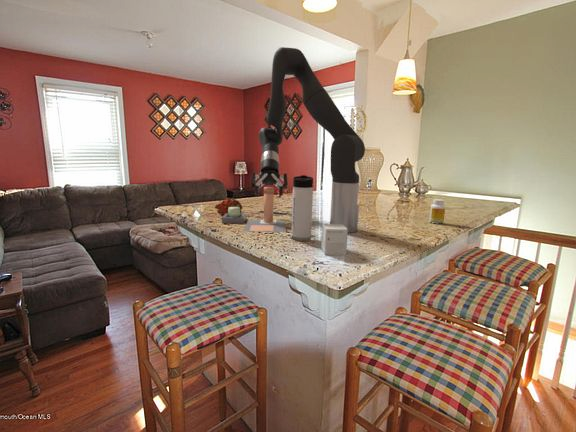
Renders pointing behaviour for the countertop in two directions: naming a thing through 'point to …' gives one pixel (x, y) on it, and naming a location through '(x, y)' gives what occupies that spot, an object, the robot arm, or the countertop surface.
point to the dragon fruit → (227, 205)
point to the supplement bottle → (437, 211)
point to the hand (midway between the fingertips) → (268, 195)
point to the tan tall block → (268, 204)
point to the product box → (334, 239)
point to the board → (264, 226)
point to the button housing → (233, 219)
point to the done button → (234, 212)
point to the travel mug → (302, 208)
